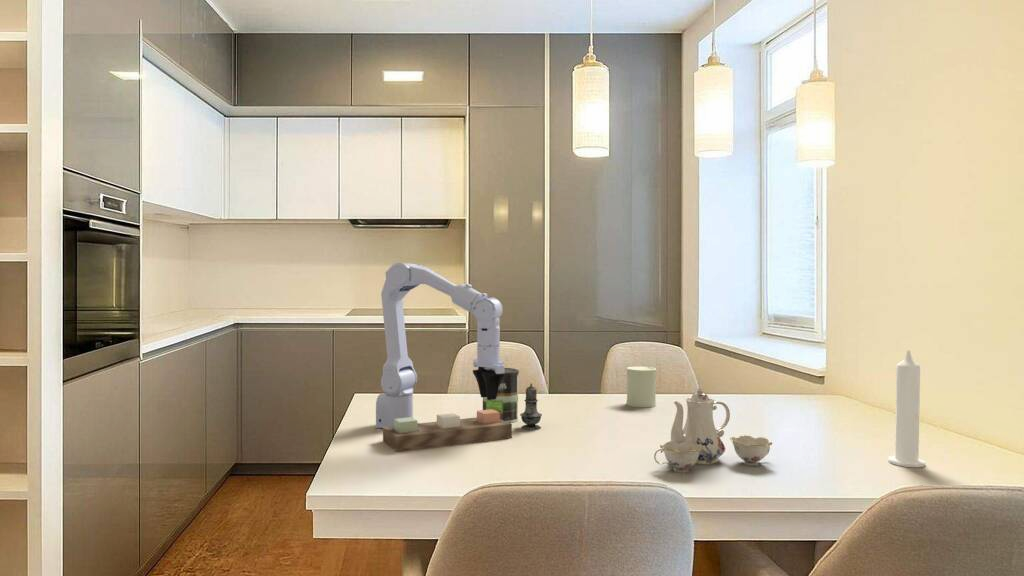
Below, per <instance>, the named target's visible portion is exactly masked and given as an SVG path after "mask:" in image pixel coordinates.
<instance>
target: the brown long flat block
mask: <svg viewBox="0 0 1024 576" xmlns="http://www.w3.org/2000/svg"><path fill="white" fill-rule="evenodd" d="M512 429H513V424H512V423H508V422H506V421H504V420H502V419H500V422H499V423H490V424H482V423H479V422H477V416H475V417H469V418H468V417H467V418H460V427H453V428H444V429H442V428H440V427H438V426H437V421H431V422H418V424H417V432H407V433H397V432H396V431H394V426H389V427H383V428H382V441H383V443H385V444H386V445H387V446H388V447H390V448H392V449H393V450H394V451H396V452H399V453H400V452H403V451H405V452H407V451H414V450H415V451H416V450H422V449H430V448H438V447H446V446H447V447H449V446H455V445H462V444H463V445H464V444H472V443H479V442H489V441H496V440H504V439H512V438H513V430H512Z"/></svg>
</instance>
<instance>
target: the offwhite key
mask: <svg viewBox="0 0 1024 576" xmlns="http://www.w3.org/2000/svg"><path fill="white" fill-rule="evenodd" d="M460 419H461V416H460V415H458V414H456V413H453V412H451V413H441V414H436V422H437V426H438V427H440V428H442V429H444V428H453V427H460Z"/></svg>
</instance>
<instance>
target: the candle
mask: <svg viewBox="0 0 1024 576" xmlns="http://www.w3.org/2000/svg"><path fill="white" fill-rule="evenodd" d="M906 350H907V351H906V353H905V357H904V358H903V360H901V361H900V362H898V363H897V364H896V368H895V369H896V370H895V373H896V375H895V376H896V377H895V378H896V380H895V381H896V382H895V429H894V430H895V431H894V436H895V437H894V438H895V441H894V443H895V444H894V455H891V456H888V458H887V459H888V460H887V461H888V462H889V463H890V464H892V465H895V466H899V467H902V468H903V467H905V468H916V469H918V468H923V467H925V466H926V461H925V460H924V459H921V458H919V454H920V453H919V451H920V447H919V445H920V443H919V442H920V404H921V403H920V401H921V400H920V399H921V398H920V394H921V393H920V392H921V366H920V364H918V363H917V362H916V361H915V360H914V359H913V358H912V354H911V350H909V349H906Z"/></svg>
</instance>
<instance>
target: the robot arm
mask: <svg viewBox="0 0 1024 576" xmlns="http://www.w3.org/2000/svg"><path fill="white" fill-rule="evenodd" d="M384 274H385V281H384V284H383V286H382V287H383V288H382V290H381V304H382V316H383V318H382V319H383V325H384V336H385V337H384V338H385V346H386V357H387V358H386V361H385V362H384V364H383V365H382V376H381V378H380V386H381V389H382V390H383V391H384V392H380V393H379V394H378V395H377V397H376V402H375V425H374V428H375V429H383V427H389V426H394V419H398V418H408V417H412V418H414V388H415V387H416V385H417V382H418V375H417V372H416V370H415V368H414V363H413V361H412V359H411V358H410V357H409V354H408V346H407V345H408V343H407V335H406V334H407V333H406V324H405V315H404V314H405V313H404V303H403V299H404V298H405V297H406V295H407V294H408V293H410V292H411V290H414V289H415V288H417V287H418V286H420V285H427V286H429V287H430V288H432V289H435V290H436V291H439V292H441V293H443V294H445V295H446V296H448V297H450V298H451V301H452V304H454V305H456V307H457V306H458V307H459V308H461V309H463V310H465V311H467V312H469V313H470V314H472V315H474V318H475V319H476V321H477V329H476V331H477V332H476V333H477V334H476V335H477V336H476V338H477V342H476V344H477V345H476V347H477V348H476V351H477V352H476V353H477V354H476V355H477V356H476V357H477V358H476V359H475V358H474V359H473V361H472V362H473V363H472V365H473V367H474V368H477V369H473V370H472V374H473V376H474V377H475V380H476V383H477V386H478V390H479V394H480V398H483V397H487V400H495V399H496V396H497V392H498V388H499V385H500V382H501V380H502V378H503V376H504V368H505V365H504V361H500V357H501V356H500V346H501V345H500V343H501V342H500V338H501V337H500V335H501V333H500V332H501V331H500V330H501V329H500V328H501V327H500V317H502V314H503V311H504V307H503V304H502V302H501V301H500V300H499V299H497V298H496V297H495V296H494V297H488V294H487V293H485V292H482V293H481V292H479V291H478V290H476V289H474V288H473V285H472V284H470V283H466V284H464V283H461V284H458V285H457V284H455V283H453V282H451V281H450V280H448V279H447V278H445V277H444V276H442V275H440V274H439V273H438V272H437V273H436V272H435V271H433V270H432V269H431V268H429V267H426V266H424V265H420V264H419V263H416V262H412V263H405V262H395V263H394V264H392V265H391V266H390V267H389V268H388V269H387V270H386V271H385V273H384ZM418 423H419V422H418V421H417V424H418Z"/></svg>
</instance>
